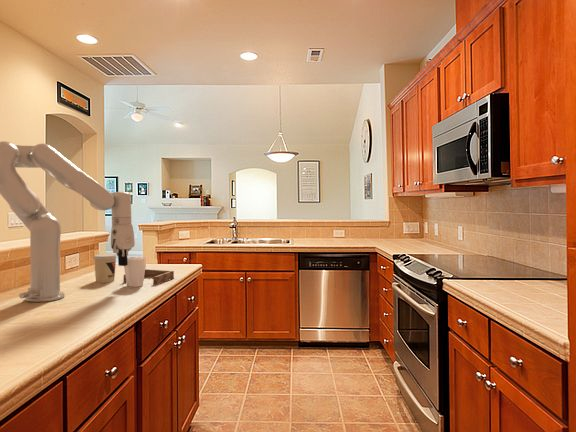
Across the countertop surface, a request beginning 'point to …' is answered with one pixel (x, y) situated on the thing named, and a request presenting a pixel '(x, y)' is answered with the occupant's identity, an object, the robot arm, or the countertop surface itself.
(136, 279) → the cup
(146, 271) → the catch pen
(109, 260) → the coffee cup
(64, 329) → the countertop surface
